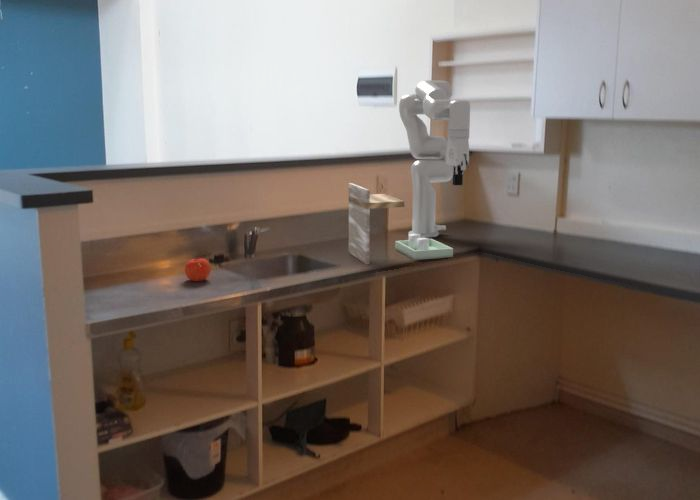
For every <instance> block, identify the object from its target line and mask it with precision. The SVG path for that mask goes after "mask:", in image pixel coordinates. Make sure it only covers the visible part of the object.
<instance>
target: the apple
mask: <svg viewBox="0 0 700 500" xmlns="http://www.w3.org/2000/svg"><path fill="white" fill-rule="evenodd" d="M211 270H212V268H211V264H210V261H208V260H207V259H206V258H198V255H196V256H195V258H193V259H189V260H188V261H187V262H186V263H185V266H184V273H185V276H186V277H187V278H188V279H189V280H190V281H192V282H203V281H205V280H206V279H207V278H208V277H209V276H210V275H211Z"/></svg>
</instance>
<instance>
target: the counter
mask: <svg viewBox="0 0 700 500" xmlns="http://www.w3.org/2000/svg"><path fill="white" fill-rule="evenodd" d="M370 191H371V190H370V189H368V188H365V187H363V186H360V185H358V184H355V183H352V182H348V253H349V254H350V255H351V256H353V257H355V258H356V259H358V260H359V261H361V262H362V263H363V264H365V265H370V229H371V228H370V226H371V225H370V222H371V221H370V219H371V217H370V216H371V215H370V214H371V213H370V210H371V209H373V210H374V209H390V208H393V209H394V208H405V200H403V199H402V200H401V199H399V198H397V197H394V196H392V195H389V194H387V193H373V194H371V193H370Z"/></svg>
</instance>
